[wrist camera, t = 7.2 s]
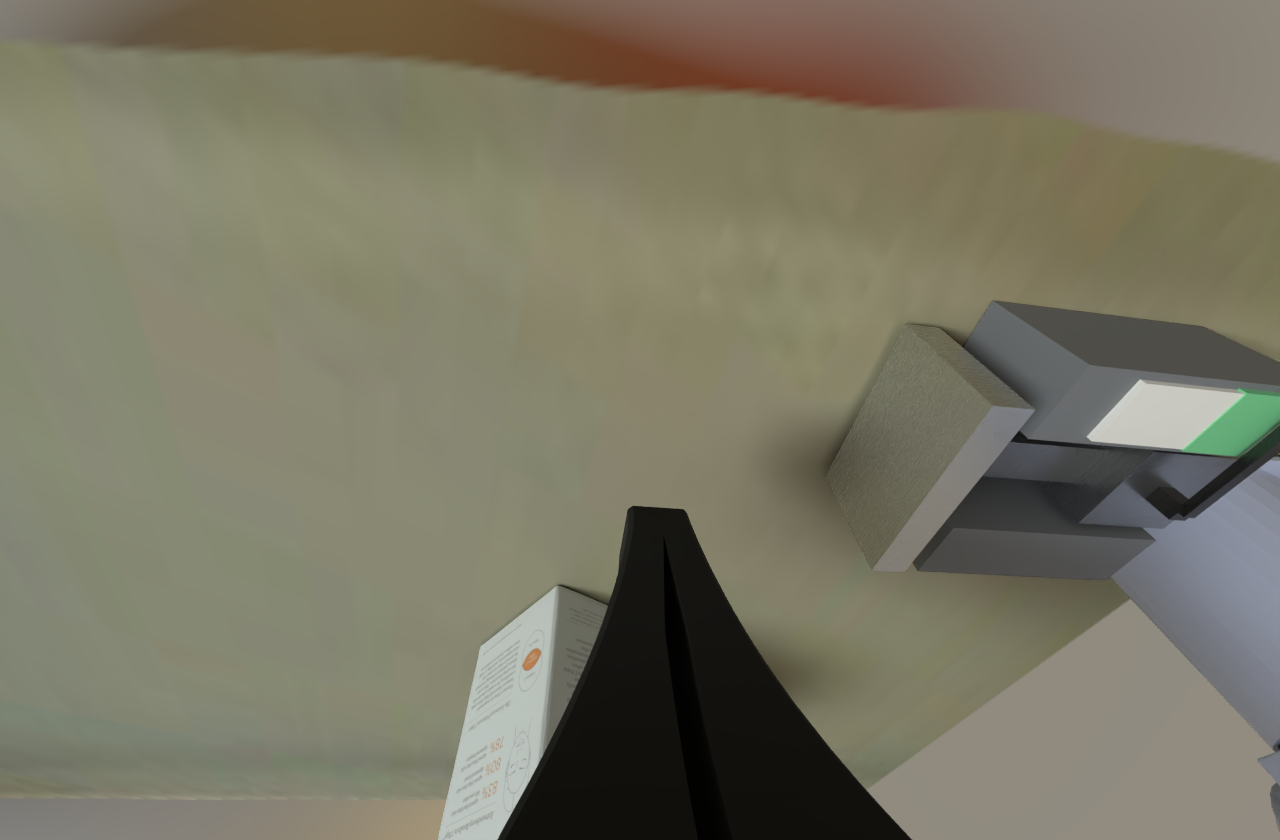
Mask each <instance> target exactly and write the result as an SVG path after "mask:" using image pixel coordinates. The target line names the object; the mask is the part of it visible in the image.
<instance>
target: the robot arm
mask: <svg viewBox="0 0 1280 840" xmlns="http://www.w3.org/2000/svg"><path fill="white" fill-rule="evenodd" d="M1143 529H1144V530H1146V531H1147V532H1148V533H1149V534H1150V535H1151V536H1152V537H1153V538H1154V539H1155V540H1156V541H1155V542H1154V543H1153V544H1151V545H1150V546H1149V547H1148V548H1146V549H1145V550H1144V551H1142V552H1141V553H1140V554H1139V555H1137V556H1136V557H1135V558H1133V559H1132V560H1131V561H1130V562H1128V563H1127V564H1126V565H1125V566H1123V567H1122V568H1121V569H1119V570H1118V571H1117V572H1116V573H1114V574H1113V575H1112V576H1111V578H1112V579H1113V580H1114V581H1115V583H1116V584H1117V585H1118V586H1119V587H1120V588H1121V589H1122V590H1123V591H1124V592H1125V593H1126V594H1127V595H1128V596H1129V597H1130V598H1131V600H1132V601H1133V602H1134V603H1135V604H1136V605H1137V606H1138V607H1139V608H1140V609H1141V610H1142V611H1143V612H1144V613H1145V614H1146V615H1147V616H1148V618H1149V619H1150V620H1151V621H1152V622H1153V623H1154V624H1155V625H1156V626H1157V627H1158V628H1159V629H1160V630H1161V631H1162V632H1163V633H1164V635H1165V636H1166V637H1167V638H1168V639H1170V641H1171V642H1172V643H1173V644H1174V645H1175V646H1176V647H1177V648H1178V649H1179V650H1180V652H1181V653H1182V654H1183V655H1184V656H1185V657H1186V658H1187V659H1188V660H1189V661H1190V662H1191V663H1192V664H1193V665H1194V667H1195V668H1196V669H1197V670H1198V671H1199V672H1200V673H1201V674H1202V675H1203V676H1204V677H1205V678H1206V679H1207V680H1208V681H1209V682H1210V684H1211V685H1212V686H1214V688H1215V689H1216V690H1217V691H1218V692H1219V693H1220V694H1221V695H1222V696H1223V697H1224V698H1225V699H1226V701H1227V702H1228V703H1229V704H1230V705H1231V706H1232V707H1233V708H1234V709H1235V710H1236V711H1237V712H1238V713H1239V714H1240V715H1241V716H1242V718H1243V719H1244V720H1245V721H1246V722H1247V723H1248V724H1249V725H1250V726H1251V727H1252V728H1253V729H1254V730H1255V731H1256V732H1257V733H1258V735H1259V736H1260V737H1261V738H1262V739H1263V740H1264V741H1265V742H1266V743H1267V744H1268V745H1269V746H1270V747H1271V748H1272V749H1273V750H1274V751H1275V753H1272V754H1270V755H1267V756H1264V757H1262V758H1259V759H1258V762H1259V763H1260V764H1261V765H1262V766H1263V768H1264V769H1266V771H1267V772H1268V773H1269V774H1270V775H1271V776H1272V777H1273V779H1274V780H1275V781H1276V783H1275V784H1274V785H1273V786H1272V787H1271V792H1270V797H1271V804H1272V808H1273V811H1274V814H1275V817H1276V822H1277V826H1278V829H1279V832H1280V457H1273V458H1272V459H1271V460H1269V461H1268V462H1267V463H1265V464H1264V465H1263V466H1261V467H1260V468H1259V469H1258V470H1256V471H1255V472H1254V473H1252V474H1251V475H1250V476H1249V477H1247V478H1246V479H1245V480H1243V481H1242V482H1241V483H1239V484H1238V485H1237V486H1236V487H1234V488H1233V489H1232V490H1230V491H1229V492H1228V493H1227V494H1225V495H1224V496H1223V497H1221V498H1220V499H1219V500H1218V501H1216V502H1215V503H1214V504H1212V505H1211V506H1210V507H1208V508H1207V509H1206V510H1205V511H1203V512H1202V513H1201V514H1199V515H1198V516H1197V517H1196V518H1188V519H1187V520H1185V521H1180V520H1174V521H1173V522H1171V523H1170V524H1169V525H1168V526H1166V527H1165V528H1164V529H1156V528H1143ZM498 840H912V839H911V838H910V837H909V836H908V835H907V834H906V833H905V832H904V831H903V830H902V829H901V828H900V826H899V825H898V824H897V823H896V822H895V821H894V820H893V819H892V818H891V817H890V816H889V815H888V814H887V813H886V812H885V811H884V809H883V808H882V807H881V806H880V805H879V804H878V803H877V802H876V801H875V799H874V798H873V797H872V796H871V795H870V794H869V793H868V792H867V790H866V789H865V788H864V787H863V786H862V785H861V784H860V783H859V781H858V780H857V779H856V778H855V777H854V776H853V774H852V773H851V772H850V771H849V770H848V769H847V767H846V766H845V765H844V764H843V763H842V762H841V760H840V759H839V758H838V757H837V756H836V755H835V753H834V752H833V751H832V750H831V749H830V747H829V746H828V745H827V744H826V742H825V741H824V740H823V739H822V737H821V736H820V735H819V733H818V732H817V731H816V730H815V728H814V727H813V726H812V725H811V723H810V722H809V721H808V720H807V718H806V717H805V716H804V714H803V713H802V712H801V711H800V709H799V708H798V707H797V706H796V704H795V703H794V702H793V700H792V699H791V698H790V696H789V695H788V693H787V692H786V691H785V689H784V688H783V686H782V685H781V684H780V682H779V681H778V680H777V678H776V677H775V675H774V674H773V672H772V671H771V669H770V668H769V667H768V665H767V664H766V662H765V661H764V659H763V658H762V656H761V655H760V653H759V652H758V650H757V648H756V647H755V645H754V644H753V642H752V641H751V639H750V637H749V636H748V634H747V633H746V631H745V629H744V628H743V626H742V624H741V623H740V621H739V619H738V617H737V616H736V614H735V612H734V611H733V609H732V607H731V605H730V604H729V602H728V600H727V598H726V596H725V594H724V592H723V591H722V589H721V587H720V585H719V583H718V581H717V579H716V577H715V575H714V573H713V571H712V569H711V567H710V565H709V563H708V561H707V559H706V557H705V555H704V553H703V551H702V548H701V546H700V544H699V542H698V540H697V537H696V535H695V533H694V530H693V528H692V525H691V523H690V520H689V518H688V515H687V513H686V512H685V511H684V509H671V508H657V507H642V506H632V507H630V508H629V509H628V511H627V517H626V522H625V528H624V533H623V539H622V545H621V550H620V557H619V571H618V576H617V579H616V583H615V587H614V590H613V593H612V596H611V599H610V602H609V605H608V608H607V610H606V613H605V616H604V619H603V622H602V625H601V628H600V630H599V633H598V635H597V638H596V641H595V643H594V646H593V648H592V651H591V653H590V655H589V658H588V660H587V663H586V665H585V667H584V670H583V672H582V674H581V676H580V679H579V681H578V683H577V685H576V688H575V690H574V692H573V694H572V697H571V699H570V701H569V703H568V705H567V707H566V710H565V712H564V714H563V716H562V718H561V720H560V722H559V724H558V726H557V728H556V730H555V732H554V734H553V736H552V738H551V740H550V742H549V744H548V746H547V748H546V750H545V752H544V754H543V756H542V758H541V760H540V762H539V764H538V766H537V768H536V770H535V771H534V773H533V775H532V777H531V779H530V781H529V783H528V785H527V786H526V788H525V790H524V792H523V794H522V795H521V797H520V799H519V801H518V803H517V804H516V806H515V808H514V810H513V812H512V813H511V815H510V817H509V819H508V821H507V822H506V824H505V826H504V828H503V830H502V832H501V833H500V835H499V837H498Z"/></svg>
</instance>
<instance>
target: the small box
mask: <svg viewBox="0 0 1280 840" xmlns="http://www.w3.org/2000/svg"><path fill="white" fill-rule="evenodd" d="M607 608H608V605H606V604H603V603H601V602H598V601H596V600H594V599H592V598H589V597H587V596H584V595H582V594H580V593H577V592H575V591H572V590H569V589H567V588H564V587H562V586H556V587H555V588H553V589H552V590H551V591H550V592H549V593H547V594H546V595H545V596H544V597H542V598H541V599H540V600H539V601H537V602H536V603H535V604H534V605H532V606H531V607H530V608H528V609H527V610H526V611H525V612H523V613H522V614H521V615H520V616H518V617H517V618H516V619H515V620H513V621H512V622H511V623H510V624H508V625H507V626H506V627H505V628H503V629H502V630H501V631H500V632H498V633H497V634H496V635H495V636H493V637H492V638H491V639H490V640H488V641H487V642H486V643H485V644H483V645H482V646H481V647H480V651H479V656H478V661H477V666H476V670H475V675H474V679H473V684H472V688H471V693H470V698H469V703H468V707H467V712H466V717H465V721H464V726H463V730H462V735H461V739H460V744H459V748H458V753H457V757H456V762H455V766H454V771H453V775H452V779H451V784H450V788H449V792H448V796H447V801H446V805H445V810H444V814H443V819H442V823H441V828H440V832H439V837H438V840H498V837H499V835H500V833H501V832H502V830H503V828H504V826H505V824H506V822H507V821H508V819H509V817H510V815H511V813H512V812H513V810H514V808H515V806H516V804H517V803H518V801H519V799H520V797H521V795H522V794H523V792H524V790H525V788H526V786H527V785H528V783H529V781H530V779H531V777H532V775H533V773H534V771H535V770H536V768H537V766H538V764H539V762H540V760H541V758H542V756H543V754H544V752H545V750H546V748H547V746H548V744H549V742H550V740H551V738H552V736H553V734H554V732H555V730H556V728H557V726H558V724H559V722H560V720H561V718H562V716H563V714H564V712H565V710H566V707H567V705H568V703H569V701H570V699H571V697H572V694H573V692H574V690H575V688H576V685H577V683H578V681H579V679H580V676H581V674H582V672H583V670H584V667H585V665H586V663H587V660H588V658H589V655H590V653H591V651H592V648H593V646H594V643H595V641H596V638H597V635H598V633H599V630H600V628H601V625H602V622H603V619H604V616H605V613H606V610H607Z"/></svg>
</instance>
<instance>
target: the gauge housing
mask: <svg viewBox="0 0 1280 840" xmlns="http://www.w3.org/2000/svg"><path fill="white" fill-rule="evenodd" d="M963 348H964V349H965V350H966V351H967V352H969V353H970V354H971V355H972V356H973V357H974V358H976V359H977V360H978V361H979V362H980V363H981V364H983V365H984V366H985V367H986V368H987V369H988V370H990V371H991V372H992V373H993V374H994V375H995V376H997V377H998V378H999V379H1000V380H1001V381H1002V382H1004V383H1005V384H1006V385H1007V386H1008V387H1010V388H1011V389H1012V390H1013V391H1014V392H1015V393H1017V394H1018V395H1019V396H1020V397H1021V398H1022V399H1024V400H1025V401H1026V402H1027V403H1028V404H1029V405H1031V406H1032V407H1033V408H1034V409H1035V411H1034V413H1033V414H1032V415H1031V416H1030V418H1029V419H1028V420H1027V421H1026V422H1025V424H1024V425H1023V426H1022V427H1021V429H1020V431H1021V432H1022V433H1023V434H1024V435H1025V436H1026V437H1027V438H1028V439H1035V440H1047V441H1058V442H1070V443H1081V444H1092V445H1104V446H1115V447H1127V448H1138V449H1150V450H1161V451H1173V452H1184V453H1196V454H1207V455H1218V456H1230V457H1241V456H1243V455H1244V454H1245V453H1246V452H1248V451H1249V450H1250V449H1251V448H1253V447H1254V446H1255V445H1256V444H1258V443H1259V442H1260V441H1261V440H1262V439H1264V438H1265V437H1266V436H1267V435H1269V434H1270V433H1271V432H1272V431H1273V430H1275V429H1276V428H1277V427H1278V426H1279V425H1280V363H1279V362H1277V361H1275V360H1273V359H1271V358H1269V357H1266V356H1264V355H1262V354H1260V353H1258V352H1256V351H1254V350H1252V349H1249V348H1247V347H1245V346H1243V345H1241V344H1239V343H1237V342H1234V341H1232V340H1230V339H1228V338H1226V337H1224V336H1222V335H1220V334H1217V333H1215V332H1213V331H1211V330H1209V329H1207V328H1205V327H1202V326H1194V325H1185V324H1177V323H1169V322H1161V321H1153V320H1145V319H1137V318H1129V317H1121V316H1113V315H1105V314H1097V313H1088V312H1080V311H1072V310H1064V309H1056V308H1048V307H1040V306H1032V305H1024V304H1016V303H1008V302H1000V301H992V302H991V304H990V305H989V307H988V309H987V310H986V312H985V313H984V315H983V317H982V318H981V320H980V321H979V323H978V325H977V326H976V328H975V329H974V331H973V333H972V334H971V336H970V337H969V339H968V340H967V342H966V344H965V345H964V347H963ZM1155 541H1156V540H1155V539H1154V538H1153V537H1152V536H1151V535H1150V534H1149V533H1148V532H1147V531H1146V530H1144V529H1143V528H1141V527H1126V526H1110V525H1095V524H1080V523H1077V522H1076V521H1075V520H1074V519H1073V518H1072V517H1071V516H1070V515H1069V514H1068V513H1067V512H1066V510H1065V509H1064V508H1063V507H1062V506H1061V505H1060V504H1059V503H1058V502H1057V501H1056V500H1055V499H1054V498H1053V497H1052V496H1051V495H1050V494H1049V493H1048V492H1047V491H1046V490H1045V489H1044V488H1043V487H1042V486H1041V485H1040V484H1039V483H1038V482H1037V481H1036V480H1024V479H1011V478H998V477H985V476H982V477H981V478H980V479H979V481H978V482H977V483H976V484H975V485H974V487H973V488H972V489H971V490H970V492H969V493H968V494H967V495H966V497H965V498H964V499H963V500H962V502H961V503H960V504H959V505H958V506H957V508H956V509H955V510H954V511H953V513H952V514H951V515H950V516H949V518H948V519H947V520H946V521H945V522H944V524H943V525H942V526H941V527H940V529H939V530H938V531H937V532H936V534H935V535H934V536H933V537H932V539H931V540H930V541H929V542H928V543H927V545H926V546H925V547H924V548H923V550H922V551H921V552H920V553H919V555H918V556H917V557H916V558H915V560H914V561H913V564H914V565H915V567H916V569H917V570H918V571H927V572H947V573H967V574H987V575H1007V576H1027V577H1047V578H1067V579H1087V580H1107V579H1108V578H1109V577H1111V576H1112V575H1113V574H1114V573H1116V572H1117V571H1118V570H1119V569H1121V568H1122V567H1123V566H1125V565H1126V564H1127V563H1128V562H1130V561H1131V560H1132V559H1133V558H1135V557H1136V556H1137V555H1139V554H1140V553H1141V552H1142V551H1144V550H1145V549H1146V548H1148V547H1149V546H1150V545H1151V544H1153V543H1154V542H1155Z"/></svg>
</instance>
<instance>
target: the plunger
mask: <svg viewBox="0 0 1280 840" xmlns="http://www.w3.org/2000/svg"><path fill="white" fill-rule="evenodd" d="M1034 411H1035V409H1034V408H1033V407H1032V406H1031V405H1029V404H1028V403H1027V402H1026V401H1025V400H1024V399H1022V398H1021V397H1020V396H1019V395H1018V394H1017V393H1015V392H1014V391H1013V390H1012V389H1011V388H1010V387H1008V386H1007V385H1006V384H1005V383H1004V382H1002V381H1001V380H1000V379H999V378H998V377H997V376H995V375H994V374H993V373H992V372H991V371H990V370H988V369H987V368H986V367H985V366H984V365H983V364H981V363H980V362H979V361H978V360H977V359H976V358H974V357H973V356H972V355H971V354H970V353H969V352H967V351H966V350H965V349H964V348H963V347H962V346H960V345H959V344H958V343H957V342H956V341H954V340H953V339H952V338H951V337H950V336H949V335H947V334H946V333H945V332H944V331H943V330H942V329H940V328H936V327H927V326H919V325H910V324H906V325H905V327H904V329H903V331H902V333H901V334H900V336H899V338H898V340H897V342H896V344H895V346H894V348H893V350H892V351H891V353H890V355H889V357H888V359H887V361H886V363H885V365H884V367H883V369H882V370H881V372H880V374H879V376H878V378H877V380H876V382H875V384H874V386H873V388H872V389H871V391H870V393H869V395H868V397H867V399H866V401H865V403H864V405H863V407H862V408H861V410H860V412H859V414H858V416H857V418H856V420H855V422H854V424H853V425H852V427H851V429H850V431H849V433H848V435H847V437H846V439H845V441H844V443H843V444H842V446H841V448H840V450H839V452H838V454H837V456H836V458H835V460H834V462H833V463H832V465H831V467H830V469H829V471H828V473H827V475H826V479H827V481H828V483H829V485H830V487H831V489H832V491H833V493H834V495H835V497H836V499H837V501H838V503H839V505H840V507H841V509H842V511H843V513H844V515H845V517H846V519H847V521H848V523H849V525H850V528H851V530H852V532H853V534H854V536H855V538H856V540H857V542H858V544H859V546H860V548H861V550H862V552H863V554H864V556H865V558H866V560H867V562H868V564H869V566H870V568H871V570H872V571H891V572H905V571H906V569H907V568H908V567H909V566H910V564H911V563H912V562H913V561H914V560H915V558H916V557H917V556H918V555H919V553H920V552H921V551H922V550H923V548H924V547H925V546H926V545H927V543H928V542H929V541H930V540H931V539H932V537H933V536H934V535H935V534H936V532H937V531H938V530H939V529H940V527H941V526H942V525H943V524H944V522H945V521H946V520H947V519H948V518H949V516H950V515H951V514H952V513H953V511H954V510H955V509H956V508H957V506H958V505H959V504H960V503H961V502H962V500H963V499H964V498H965V497H966V495H967V494H968V493H969V492H970V490H971V489H972V488H973V487H974V485H975V484H976V483H977V482H978V481H979V479H980V478H981V477H982V476H985V477H998V478H1011V479H1024V480H1036V481H1037V482H1038V483H1039V484H1040V485H1041V486H1042V487H1043V488H1044V489H1045V490H1046V491H1047V492H1048V493H1049V494H1050V495H1051V496H1052V497H1053V498H1054V499H1055V500H1056V501H1057V502H1058V503H1059V504H1060V505H1061V506H1062V507H1063V508H1064V509H1065V510H1066V512H1067V513H1068V514H1069V515H1070V516H1071V517H1072V518H1073V519H1074V520H1075V521H1076V522H1077V523H1080V524H1095V525H1110V526H1126V527H1141V528H1156V529H1164V528H1165V527H1166V526H1168V525H1169V524H1170V523H1171V522H1173V521H1174V520H1180V521H1185V520H1187V519H1188V518H1196V517H1197V516H1198V515H1199V514H1201V513H1202V512H1203V511H1205V510H1206V509H1207V508H1208V507H1210V506H1211V505H1212V504H1214V503H1215V502H1216V501H1218V500H1219V499H1220V498H1221V497H1223V496H1224V495H1225V494H1227V493H1228V492H1229V491H1230V490H1232V489H1233V488H1234V487H1236V486H1237V485H1238V484H1239V483H1241V482H1242V481H1243V480H1245V479H1246V478H1247V477H1249V476H1250V475H1251V474H1252V473H1254V472H1255V471H1256V470H1258V469H1259V468H1260V467H1261V466H1263V465H1264V464H1265V463H1267V462H1268V461H1269V460H1271V459H1272V458H1273V457H1274V456H1276V455H1277V454H1278V453H1280V425H1279V426H1278V427H1277V428H1276V429H1275V430H1273V431H1272V432H1271V433H1270V434H1269V435H1267V436H1266V437H1265V438H1264V439H1262V440H1261V441H1260V442H1259V443H1258V444H1256V445H1255V446H1254V447H1253V448H1251V449H1250V450H1249V451H1248V452H1246V453H1245V454H1244V455H1243V456H1241V457H1230V456H1218V455H1207V454H1196V453H1184V452H1173V451H1161V450H1150V449H1138V448H1127V447H1115V446H1104V445H1092V444H1081V443H1070V442H1058V441H1047V440H1035V439H1028V438H1027V437H1026V436H1025V435H1024V434H1023V433H1022V432H1021V431H1020V429H1021V427H1022V426H1023V425H1024V424H1025V422H1026V421H1027V420H1028V419H1029V418H1030V416H1031V415H1032V414H1033V413H1034Z"/></svg>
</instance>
